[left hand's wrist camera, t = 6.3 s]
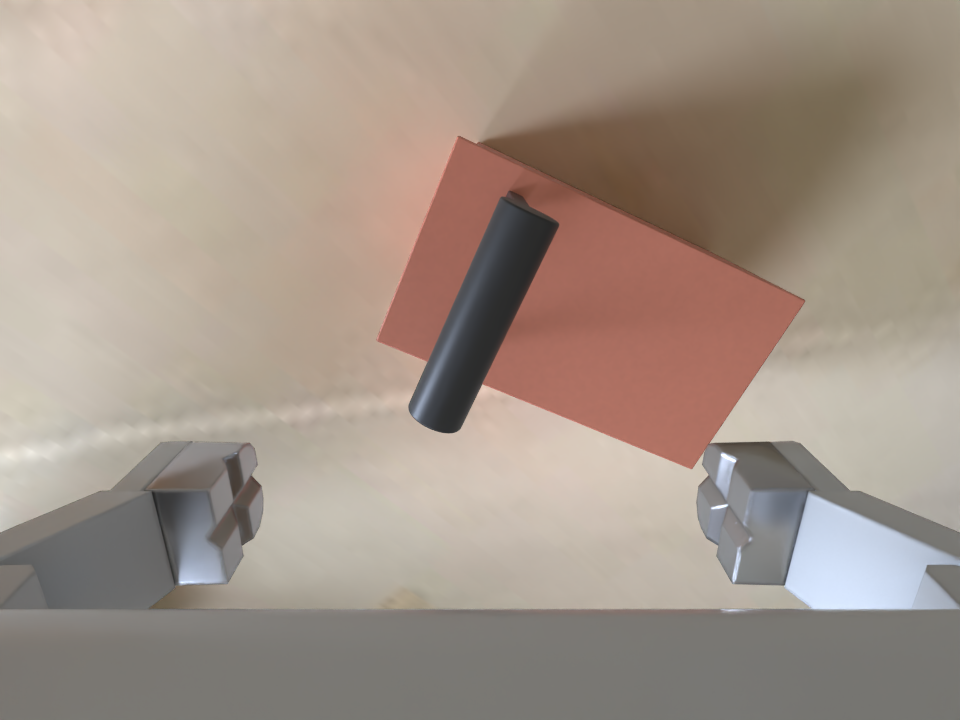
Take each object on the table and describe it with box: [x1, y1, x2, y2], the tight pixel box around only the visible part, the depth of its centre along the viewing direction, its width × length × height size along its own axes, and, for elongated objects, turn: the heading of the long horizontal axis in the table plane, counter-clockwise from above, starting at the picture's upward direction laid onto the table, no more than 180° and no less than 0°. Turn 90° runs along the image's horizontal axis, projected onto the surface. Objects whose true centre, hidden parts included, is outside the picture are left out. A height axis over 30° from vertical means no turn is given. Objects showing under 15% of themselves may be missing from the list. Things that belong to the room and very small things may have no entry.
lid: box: [376, 136, 805, 469], centre depth 23 cm, size 17×10×9 cm, turn 66°
